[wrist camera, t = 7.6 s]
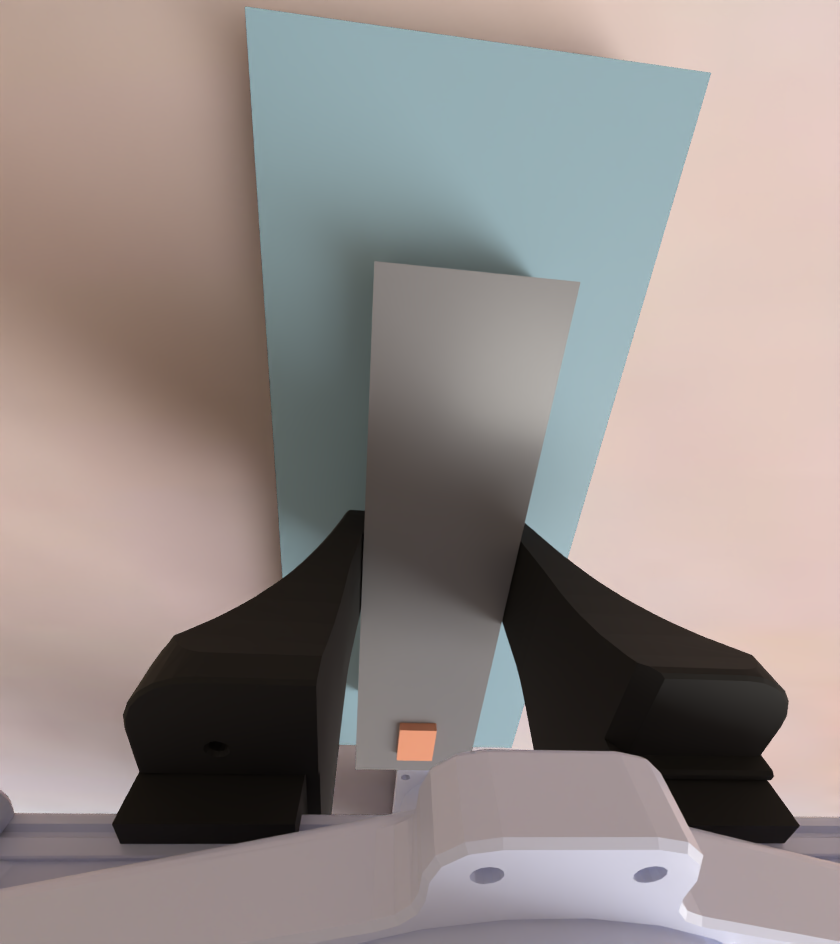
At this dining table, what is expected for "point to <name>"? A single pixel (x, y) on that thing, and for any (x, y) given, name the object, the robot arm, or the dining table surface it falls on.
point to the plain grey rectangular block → (447, 494)
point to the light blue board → (448, 241)
